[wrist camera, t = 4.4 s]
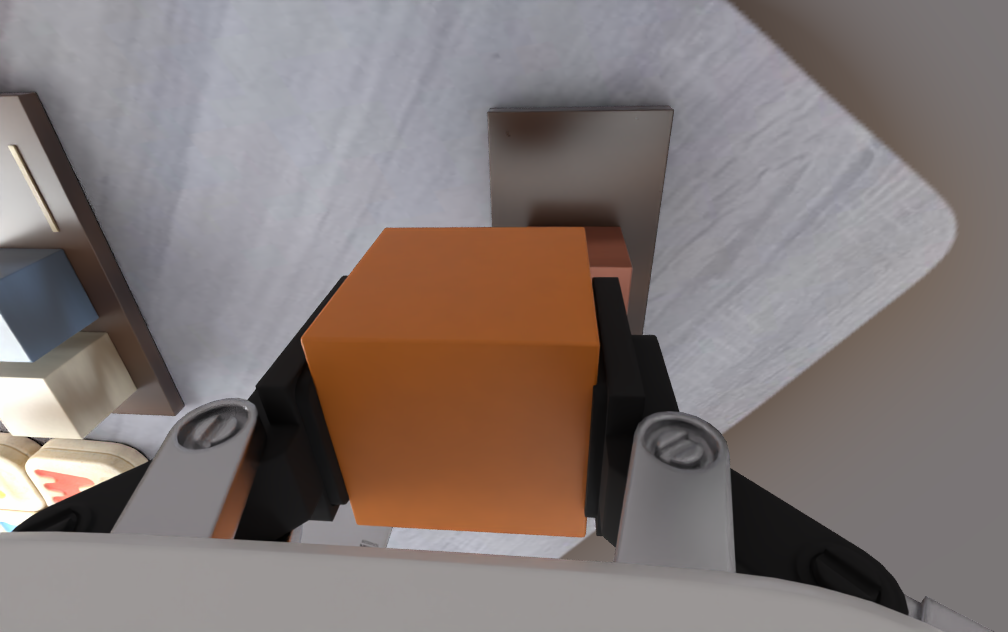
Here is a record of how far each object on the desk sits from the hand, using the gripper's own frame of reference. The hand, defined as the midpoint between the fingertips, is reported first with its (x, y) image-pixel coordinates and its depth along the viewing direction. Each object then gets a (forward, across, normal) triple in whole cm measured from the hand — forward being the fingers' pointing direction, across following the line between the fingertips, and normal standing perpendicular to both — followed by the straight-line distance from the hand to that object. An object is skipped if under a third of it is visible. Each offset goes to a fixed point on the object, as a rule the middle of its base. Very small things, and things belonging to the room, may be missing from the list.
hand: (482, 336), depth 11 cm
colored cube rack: (+15, -2, +8) cm, 17 cm away
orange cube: (+1, 0, 0) cm, 1 cm away
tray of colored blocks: (+15, +28, +6) cm, 32 cm away
